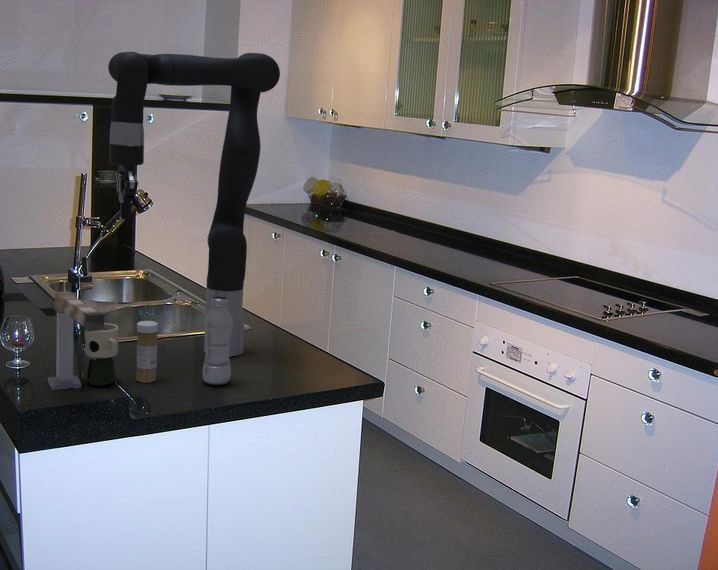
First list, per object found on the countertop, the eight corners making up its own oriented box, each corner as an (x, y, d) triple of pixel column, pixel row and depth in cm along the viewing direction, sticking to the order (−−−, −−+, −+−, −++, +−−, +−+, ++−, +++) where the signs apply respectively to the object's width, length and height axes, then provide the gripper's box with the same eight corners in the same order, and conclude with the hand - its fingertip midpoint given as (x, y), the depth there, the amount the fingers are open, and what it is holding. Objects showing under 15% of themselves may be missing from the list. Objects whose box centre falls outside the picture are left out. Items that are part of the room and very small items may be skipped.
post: (76, 379, 193) (77, 307, 190) (81, 387, 187) (82, 313, 184) (48, 381, 190) (48, 308, 187) (52, 390, 185) (52, 314, 182)
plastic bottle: (205, 388, 193) (209, 301, 189) (198, 379, 199) (202, 294, 195) (233, 387, 196) (238, 300, 192) (226, 378, 202) (229, 294, 198)
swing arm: (51, 308, 186) (51, 292, 185) (72, 306, 189) (72, 291, 188) (84, 332, 169) (84, 314, 168) (106, 330, 172) (107, 313, 171)
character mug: (73, 380, 192) (73, 323, 190) (101, 374, 197) (102, 319, 195) (99, 393, 185) (100, 334, 183) (128, 387, 190) (130, 329, 188)
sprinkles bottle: (149, 376, 199) (150, 319, 196) (160, 381, 196) (162, 323, 193) (131, 379, 196) (133, 321, 193) (143, 384, 193) (144, 326, 190)
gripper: (104, 140, 200) (103, 215, 203) (116, 143, 189) (115, 222, 192) (136, 141, 203) (135, 215, 207) (150, 145, 192) (149, 223, 195)
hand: (125, 218), depth 199 cm, fingers closed
